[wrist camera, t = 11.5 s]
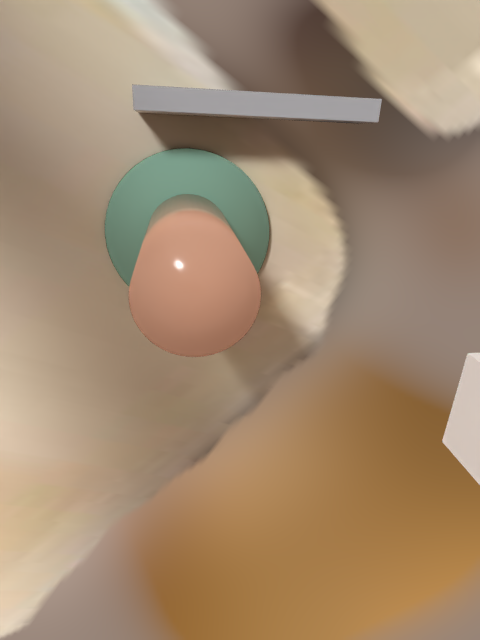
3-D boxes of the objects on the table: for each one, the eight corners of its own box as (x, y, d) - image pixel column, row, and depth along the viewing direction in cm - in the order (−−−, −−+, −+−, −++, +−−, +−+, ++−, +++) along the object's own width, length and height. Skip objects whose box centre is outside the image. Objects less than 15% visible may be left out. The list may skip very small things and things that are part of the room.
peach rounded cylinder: (149, 275, 29) (132, 358, 18) (145, 192, 27) (124, 231, 16) (228, 275, 30) (257, 354, 19) (230, 194, 28) (265, 233, 17)
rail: (138, 112, 26) (133, 109, 23) (137, 90, 25) (132, 84, 22) (358, 123, 28) (378, 122, 25) (361, 102, 27) (381, 99, 24)
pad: (112, 310, 30) (111, 312, 30) (98, 144, 26) (97, 144, 26) (263, 308, 32) (264, 310, 32) (273, 151, 28) (274, 151, 27)
